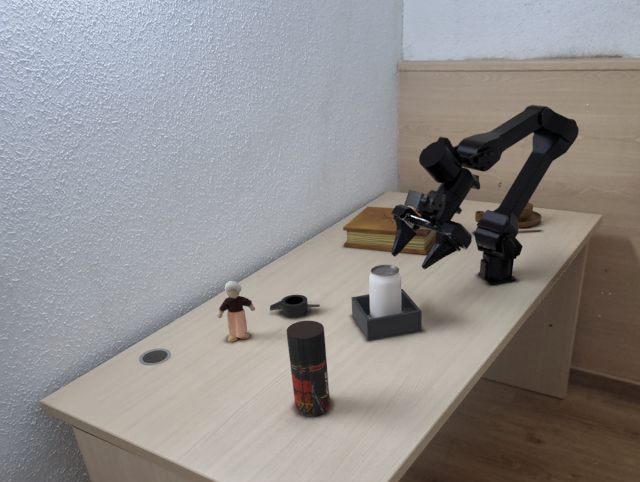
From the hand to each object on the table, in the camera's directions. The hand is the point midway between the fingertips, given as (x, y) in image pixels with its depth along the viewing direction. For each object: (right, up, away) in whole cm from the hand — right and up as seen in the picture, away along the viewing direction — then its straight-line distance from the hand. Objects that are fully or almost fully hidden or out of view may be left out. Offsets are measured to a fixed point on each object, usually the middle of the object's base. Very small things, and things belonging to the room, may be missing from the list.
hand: (407, 261), depth 124 cm
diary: (+3, +14, +45) cm, 47 cm away
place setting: (+34, +19, +49) cm, 63 cm away
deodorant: (-19, -28, -20) cm, 39 cm away
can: (-4, -12, +4) cm, 14 cm away
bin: (-4, -12, +4) cm, 13 cm away
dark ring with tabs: (-23, -10, +11) cm, 27 cm away
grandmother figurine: (-34, -15, +3) cm, 38 cm away
